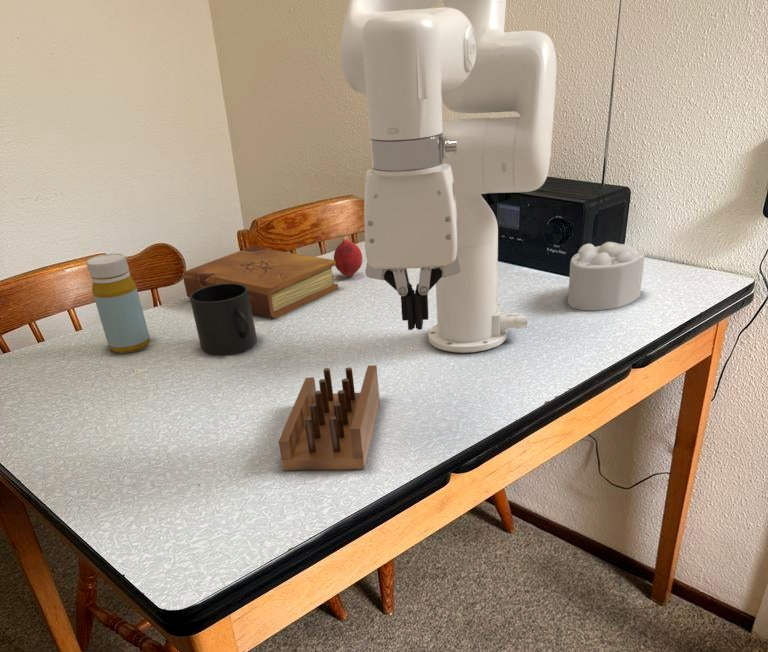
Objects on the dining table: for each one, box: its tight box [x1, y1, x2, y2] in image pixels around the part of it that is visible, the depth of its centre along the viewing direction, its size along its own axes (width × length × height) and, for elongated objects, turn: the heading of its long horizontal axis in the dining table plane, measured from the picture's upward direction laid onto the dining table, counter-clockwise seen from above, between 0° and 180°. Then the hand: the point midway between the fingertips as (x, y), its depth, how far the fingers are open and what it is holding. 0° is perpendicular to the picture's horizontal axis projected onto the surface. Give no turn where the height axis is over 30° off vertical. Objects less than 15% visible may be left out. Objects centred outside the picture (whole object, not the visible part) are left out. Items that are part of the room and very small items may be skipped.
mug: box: [189, 283, 258, 356], centre depth 124 cm, size 9×12×9 cm
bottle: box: [86, 252, 151, 354], centre depth 126 cm, size 7×7×15 cm
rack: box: [277, 364, 381, 471], centre depth 97 cm, size 10×18×6 cm, turn 174°
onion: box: [333, 235, 363, 278], centre depth 151 cm, size 6×6×8 cm
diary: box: [182, 246, 339, 320], centre depth 146 cm, size 23×19×6 cm
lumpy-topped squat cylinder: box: [567, 241, 645, 311], centre depth 129 cm, size 10×13×9 cm
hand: (415, 325), depth 89 cm, fingers closed
